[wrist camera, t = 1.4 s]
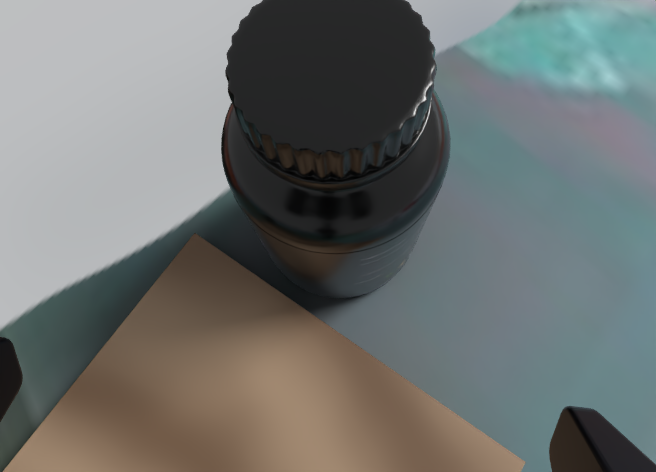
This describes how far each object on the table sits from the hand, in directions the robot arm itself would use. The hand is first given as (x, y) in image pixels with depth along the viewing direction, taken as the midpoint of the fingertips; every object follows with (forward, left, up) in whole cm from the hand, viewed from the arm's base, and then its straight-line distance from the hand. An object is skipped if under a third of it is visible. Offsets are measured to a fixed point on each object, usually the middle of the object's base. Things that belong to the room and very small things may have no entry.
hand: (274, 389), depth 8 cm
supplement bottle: (+6, +3, -13) cm, 15 cm away
